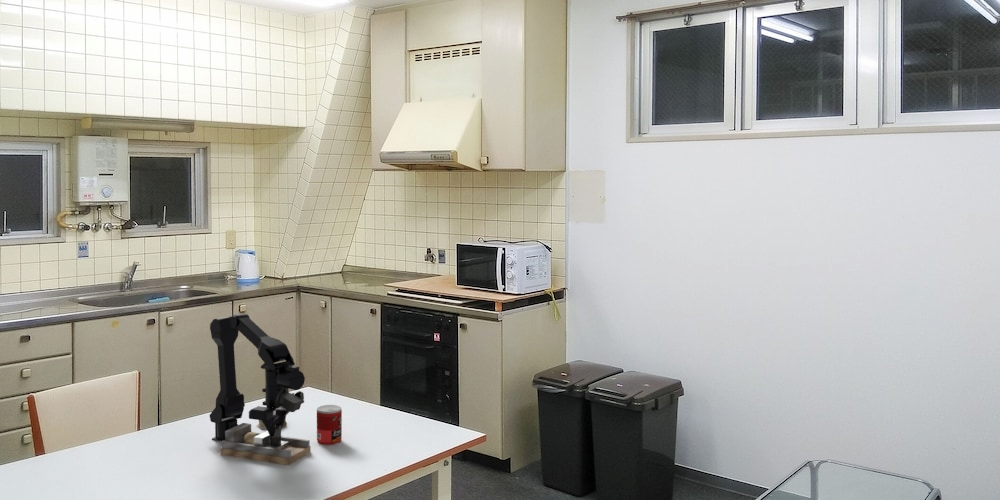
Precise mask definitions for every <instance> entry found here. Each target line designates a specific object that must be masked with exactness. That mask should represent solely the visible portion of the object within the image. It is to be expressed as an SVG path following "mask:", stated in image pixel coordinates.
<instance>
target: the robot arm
mask: <svg viewBox="0 0 1000 500" xmlns="http://www.w3.org/2000/svg"><path fill="white" fill-rule="evenodd" d="M209 331H210V334H211V339H212V340H213V342H215V344H216V347H217V359H218V372H219V389H220V390H219V393H218V394H217V396H216V397H215V398H216V399H215V407H214V409H212V411H211V413H210V414H209V419H210V420H209V421H210V422H211V423H214V425H215V427H214V430H215V431H214V432H215V434H214V435H215V436H214V437H212V438H211V440H212V441H216V442H222V441H225V431H227V430H229V429H231V428H233V427H235V426H237V425H239V424H238V419H242V418H243V413H244V409H245V406H246V404H245V395H244V393H241V392H240V391H239V390H238V387H237V373H236V358H235V357H236V356H235V343H236V341H237V339H238V337H239V332H240V333H241V334H242V335H243V337H245V338H246V340H248V341H249V342H250V343H251V344H252V345H253V346H254V347H255V348H256V349H257V355H258V357H259V358H260V360H262V362H263V363H262V364H261V366H260V369H262V370H264V378H265V381H264V383H265V384H264V387H263V388H262V391H261V392H262V393H264V395H265V398H264V399H265V400H264V401H262V406H259V405H258V406H256V407H253V408H251V409H250V410H249V411H248V418H249V419H250V420H255V421H257V420H258V421H259V420H262V422H263V423H264V425H265V427H266V429H267V430H266V429H265V430H266V431H268V433H269V434H270V436H274V433H275V424H280V425H281V431H282V430H283V428H284V427H283V424H284V421H285V418H287V415H288V414H290V413H294V412H296V411H298V410H300V409H301V405H303V404H304V403H305V394H304V392H303V391H301V390H300V389H302V387H303V386H304V384H305V381H306V378H305V374H304V373H303V372H302V371H301V370H300V367H299V366H295V365H296V363H295V362H294V358H293V356H292V355H291V352H290V350H289V349H288V345H287V344H286V343H285V342H283V341H281V340H280V339H278V338H274V337H271V336H269V335H268V334H267V333H266V332H265V331H264V330H263V329H262V328H261V327H260V326H258V325H257V324H256V323H255V322H254V321H253V320H252V319H251V318H250V316H249V314H247V313H238V314H233V315H230V316H225V317H219V318H214V319H212V320H211V322H210V324H209ZM290 390H294V391H297V392H296V393H294V392H292V393H291V392H290ZM298 390H299V391H298Z"/></svg>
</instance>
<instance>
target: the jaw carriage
mask: <svg viewBox="0 0 1000 500" xmlns="http://www.w3.org/2000/svg"><path fill="white" fill-rule="evenodd" d="M261 433H262V434H260V435H257V436H255V437H254V445H257V446H264V447H270V448H277V449H282V448H284V447H286V446H288V445H289V442H288V441H281V436H282V430H281V425H280V424H275V433H274V436H270V434H269V433H268V431H267V430H265V431H263V432H261Z"/></svg>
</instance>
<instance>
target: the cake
mask: <svg viewBox="0 0 1000 500" xmlns="http://www.w3.org/2000/svg"><path fill="white" fill-rule="evenodd" d="M286 418H287V417H286ZM286 418H285V421H284V424H283V427H282V428H285V427H286V426H287V425H288V423H287V421H286ZM256 427H257V428H259V429H261V430H265V431H267V429H266V427H265V425H264V423H263V422H262V420H258V423H257V425H256Z"/></svg>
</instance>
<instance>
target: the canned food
mask: <svg viewBox="0 0 1000 500" xmlns="http://www.w3.org/2000/svg"><path fill="white" fill-rule="evenodd" d="M342 410H343V409H342V407H341V406H339V405H336V404H324V405H320V406H317V408H316V440H317V443H319V444H320V445H323V446H331V445H332V446H334V445H337V444H340V443H341V442H342V439H343V438H342V435H343V434H342V428H343V427H342V425H343V424H342V422H343V421H342V420H343V419H342V413H343V411H342Z"/></svg>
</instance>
